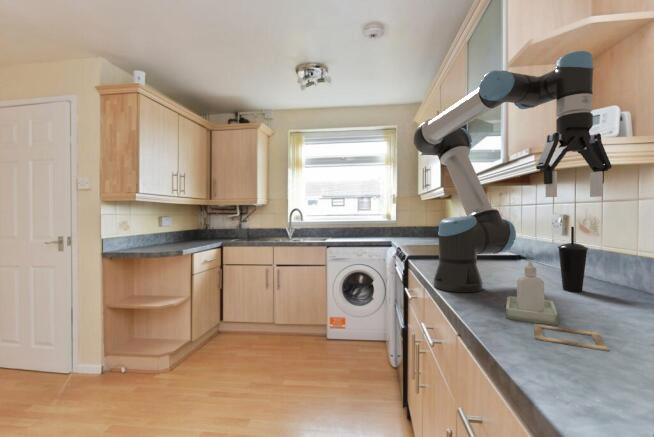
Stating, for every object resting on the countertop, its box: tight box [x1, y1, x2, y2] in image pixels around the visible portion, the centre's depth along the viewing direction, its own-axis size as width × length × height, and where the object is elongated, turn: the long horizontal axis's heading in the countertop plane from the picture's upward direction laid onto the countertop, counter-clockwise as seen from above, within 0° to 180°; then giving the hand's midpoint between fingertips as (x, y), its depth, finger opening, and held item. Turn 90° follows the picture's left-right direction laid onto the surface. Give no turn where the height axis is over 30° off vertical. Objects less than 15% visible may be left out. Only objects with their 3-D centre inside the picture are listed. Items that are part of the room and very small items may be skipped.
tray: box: [505, 295, 559, 327], centre depth 78 cm, size 10×13×2 cm
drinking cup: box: [557, 226, 589, 293], centre depth 100 cm, size 8×8×20 cm
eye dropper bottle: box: [516, 261, 545, 312], centre depth 78 cm, size 4×6×12 cm
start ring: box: [533, 323, 610, 352], centre depth 64 cm, size 11×9×1 cm
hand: (573, 197), depth 84 cm, fingers open, 13 cm apart
